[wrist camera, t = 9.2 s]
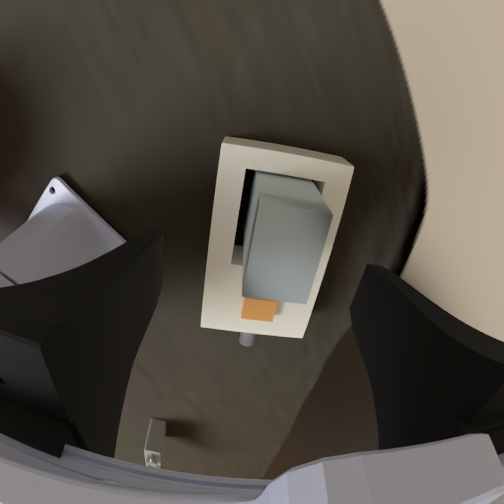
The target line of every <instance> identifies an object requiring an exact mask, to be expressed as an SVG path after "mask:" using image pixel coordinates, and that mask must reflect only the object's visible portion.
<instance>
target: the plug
mask: <svg viewBox="0 0 504 504" xmlns="http://www.w3.org/2000/svg"><path fill="white" fill-rule="evenodd" d="M332 218H333V213H332V212H331V210H330V209H329V207H328V205H327V204H326V202H325V201H324V199H323V197H322V196H321V194H320V193H319V191H318V190H317V188H316V186H315V185H314V183H313V182H312V180H311V179H306V178H300V177H295V176H289V175H283V174H277V173H271V172H265V171H259V170H254V175H253V181H252V186H251V192H250V198H249V204H248V209H247V215H246V221H245V227H244V240H243V273H242V297H249V298H257V299H265V300H273V301H281V302H290V303H299V304H307V300H308V297H309V294H310V291H311V288H312V285H313V282H314V278H315V275H316V272H317V269H318V265H319V262H320V259H321V256H322V252H323V249H324V245H325V242H326V239H327V235H328V232H329V228H330V225H331V221H332Z"/></svg>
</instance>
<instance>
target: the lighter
mask: <svg viewBox="0 0 504 504" xmlns="http://www.w3.org/2000/svg"><path fill="white" fill-rule="evenodd" d="M165 437H166V421H163V420H158V419H154V418H151V421H150V425H149V430H148V434H147V439H146V443H145V448H144V454H145V462H146V465H145V466H149V467H154V468H159V469H161V460H162V454H163V448H164V443H165Z"/></svg>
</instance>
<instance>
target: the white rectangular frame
mask: <svg viewBox="0 0 504 504" xmlns="http://www.w3.org/2000/svg"><path fill="white" fill-rule="evenodd" d="M246 169H253V170H259V171H265V172H271V173H277V174H283V175H289V176H295V177H300V178H306V179H311V180H314V181H313V183H314V185H315V186H316V188H317V190H318V191H319V193H320V194H321V196H322V197H323V199H324V201H325V202H326V204H327V205H328V207H329V209H330V210H331V212H332V213H333V218H332V221H331V225H330V228H329V232H328V235H327V239H326V242H325V245H324V249H323V252H322V256H321V259H320V262H319V265H318V269H317V272H316V275H315V278H314V282H313V285H312V288H311V291H310V294H309V297H308V300H307V304H299V303H290V302H281V301H273V300H265V299H257V298H249V297H242V273H243V246H240V245H234V240H235V234H236V228H237V221H238V215H239V208H240V202H241V196H242V190H243V183H244V177H245V171H246ZM353 171H354V166H353V165H351V164H350V163H349V162H348V161H346V160H345V159H344V158H343V157H340V156H335V155H330V154H326V153H321V152H316V151H311V150H306V149H301V148H296V147H291V146H285V145H280V144H274V143H268V142H262V141H256V140H249V139H242V138H236V137H228V136H225V138H224V140H223V142H222V145H221V152H220V159H219V166H218V174H217V181H216V189H215V197H214V204H213V213H212V221H211V229H210V238H209V247H208V256H207V265H206V275H205V285H204V295H203V306H202V317H201V327H206V328H213V329H221V330H229V331H237V332H241V333H240V338H239V342H240V343H241V344H242V345H244V346H248V347H249V346H253V345H254V344H255V340H256V336H257V334H263V335H273V336H283V337H294V338H303V335H304V332H305V330H306V327H307V324H308V321H309V318H310V315H311V312H312V309H313V306H314V303H315V300H316V297H317V294H318V291H319V288H320V285H321V282H322V279H323V276H324V273H325V269H326V266H327V263H328V260H329V256H330V253H331V250H332V247H333V243H334V240H335V237H336V233H337V230H338V226H339V223H340V219H341V216H342V212H343V209H344V205H345V201H346V198H347V194H348V190H349V186H350V183H351V179H352V175H353Z"/></svg>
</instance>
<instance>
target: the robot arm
mask: <svg viewBox="0 0 504 504" xmlns="http://www.w3.org/2000/svg"><path fill="white" fill-rule="evenodd" d="M52 187H54V189H55V192H54V191H53V190H52ZM164 238H165V233H162V232H156V231H149V230H147V231H145V232H143V233H141V234H139V235H137V236H136V237H134V238H132V239H130V240H129V241H126V240H125V239H124V238H123V237H122V236H120V235H119V234H118V233H117V232H116V231H115V230H114V229H113V228H112V227H111V226H110V225H109V224H108V223H107V222H105V221H104V220H103V219H102V218H101V217H100V216H99V215H98V214H97V213H96V212H95V211H94V210H93V209H92V208H91V207H90V206H89V205H88V204H87V203H86V202H85V201H84V200H83V199H82V198H81V197H80V196H79V195H78V194H77V193H76V192H74V191H73V190H72V189H71V188H70V187H69V186H68V185H67V184H66V182H65V181H64V180H63V179H62V178H60V177H55V178H53V179H52V180H51V181H50V183H49V185H48V186H47V188H46V189H45V191H44V193H43V194H42V196H41V198H40V199H39V201H38V203H37V204H36V206H35V208H34V210H33V211H32V213H31V215H30V217H29V218H28V220H27V222H25V223H24V224H23V225H22V226H20V227H19V228H18V229H17V230H15V231H14V232H13V233H12V234H11V235H9V236H8V237H7V238H6V239H5V240H3V241H2V242H1V243H0V504H504V342H502V341H500V340H497V339H495V338H493V337H491V336H488V335H486V334H484V333H482V332H480V331H478V330H477V329H475V328H473V327H471V326H469V325H467V324H465V323H464V322H462V321H460V320H459V319H457V318H456V317H454V316H452V315H451V314H449V313H448V312H446V311H445V310H443V309H442V308H440V307H439V306H438V305H436V304H435V303H433V302H432V301H431V300H429V299H428V298H427V297H425V296H424V295H422V294H421V293H420V292H418V291H417V290H416V289H415V288H413V287H412V286H411V285H409V284H408V283H407V282H405V281H404V280H403V279H401V278H400V277H399V276H397V275H396V274H394V273H393V272H391V271H390V270H388V269H386V268H385V267H383V266H379V265H372V264H367V266H366V268H365V271H364V273H363V276H362V279H361V281H360V284H359V286H358V289H357V291H356V294H355V296H354V298H353V301H352V303H351V306H350V308H349V309H350V315H351V321H352V326H353V331H354V334H355V337H356V340H357V343H358V346H359V349H360V352H361V355H362V358H363V361H364V364H365V367H366V370H367V373H368V376H369V380H370V383H371V387H372V392H373V398H374V403H375V409H376V417H377V425H378V436H379V450H376V451H368V452H356V453H351V454H345V455H339V456H333V457H326V458H321V459H319V460H315V461H313V462H309V463H306V464H303V465H300V466H297V467H293V468H291V469H289V470H288V471H286V472H285V473H283V474H282V475H280V476H279V477H277V478H276V479H274V480H260V479H240V478H226V477H215V476H206V475H198V474H190V473H183V472H177V471H171V470H165V469H159V468H154V467H149V466H144V465H139V464H135V463H130V462H126V461H122V460H118V459H114V455H115V448H116V441H117V434H118V429H119V423H120V418H121V412H122V407H123V403H124V398H125V394H126V389H127V385H128V381H129V377H130V373H131V369H132V366H133V363H134V360H135V357H136V354H137V351H138V349H139V346H140V344H141V342H142V339H143V337H144V334H145V332H146V330H147V327H148V325H149V322H150V320H151V318H152V315H153V313H154V310H155V308H156V305H157V302H158V298H159V294H160V291H161V287H162V283H163V258H164Z"/></svg>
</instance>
